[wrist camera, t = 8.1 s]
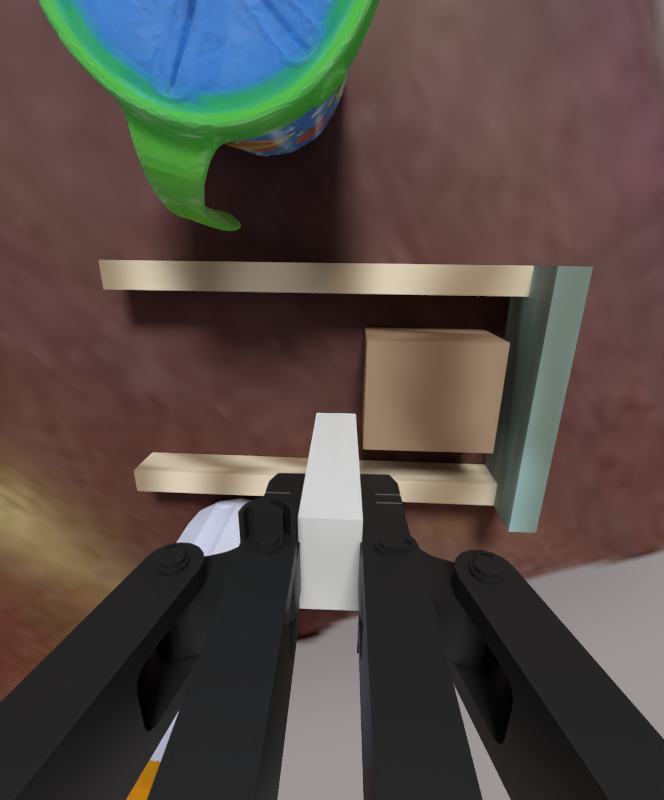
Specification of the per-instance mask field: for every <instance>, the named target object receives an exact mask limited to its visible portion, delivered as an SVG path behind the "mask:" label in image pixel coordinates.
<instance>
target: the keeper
mask: <svg viewBox="0 0 664 800" xmlns="http://www.w3.org/2000/svg"><path fill="white" fill-rule="evenodd" d="M509 347H510V343H509V342H507V341H505V340H503V339H501V338H499V337H497V336H496V335H494V334H492V333H490V332H488V331H486V330H484V329H440V328H378V327H365V339H364V368H363V397H362V438H363V449H367V450H400V451H432V452H465V453H493V451H494V444H495V438H496V431H497V425H498V418H499V412H500V405H501V399H502V392H503V386H504V379H505V373H506V366H507V360H508V353H509Z"/></svg>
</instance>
